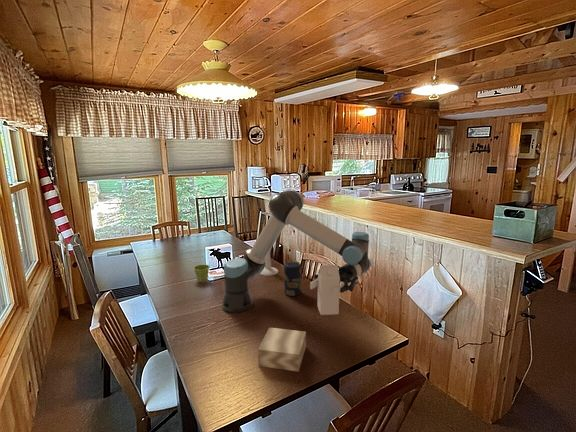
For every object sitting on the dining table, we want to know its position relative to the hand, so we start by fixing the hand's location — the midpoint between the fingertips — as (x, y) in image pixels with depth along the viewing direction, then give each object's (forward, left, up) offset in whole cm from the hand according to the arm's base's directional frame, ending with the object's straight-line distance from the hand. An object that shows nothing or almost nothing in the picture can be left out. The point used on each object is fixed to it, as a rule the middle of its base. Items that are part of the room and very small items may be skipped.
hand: (322, 289), depth 121 cm
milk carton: (+3, +3, -11) cm, 12 cm away
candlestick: (-22, +84, -25) cm, 91 cm away
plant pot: (-62, +72, -25) cm, 99 cm away
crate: (-15, -4, -25) cm, 30 cm away
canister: (-8, +51, -25) cm, 58 cm away
